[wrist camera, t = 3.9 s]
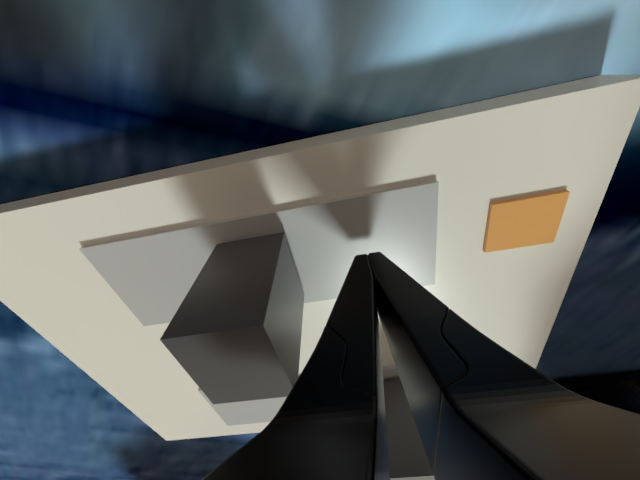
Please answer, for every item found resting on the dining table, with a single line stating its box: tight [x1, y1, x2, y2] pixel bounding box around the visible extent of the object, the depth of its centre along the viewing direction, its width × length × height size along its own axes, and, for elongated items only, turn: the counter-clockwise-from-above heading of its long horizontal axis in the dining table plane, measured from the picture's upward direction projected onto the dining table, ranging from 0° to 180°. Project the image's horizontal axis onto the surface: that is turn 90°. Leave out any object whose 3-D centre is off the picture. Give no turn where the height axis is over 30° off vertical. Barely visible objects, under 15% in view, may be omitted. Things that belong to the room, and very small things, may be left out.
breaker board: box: [0, 75, 640, 441], centre depth 14 cm, size 24×18×2 cm
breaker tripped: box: [160, 232, 304, 404], centre depth 9 cm, size 2×3×4 cm
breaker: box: [383, 379, 435, 480], centre depth 13 cm, size 2×3×4 cm
